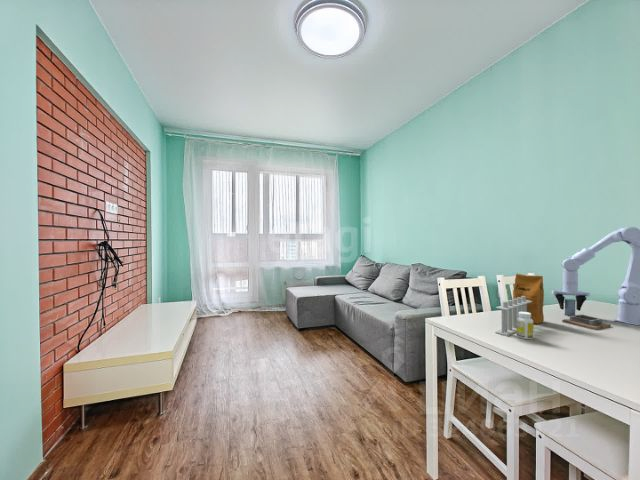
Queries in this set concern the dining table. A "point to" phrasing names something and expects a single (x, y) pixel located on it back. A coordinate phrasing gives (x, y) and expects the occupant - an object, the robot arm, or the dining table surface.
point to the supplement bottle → (525, 325)
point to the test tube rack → (511, 314)
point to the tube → (569, 307)
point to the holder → (586, 322)
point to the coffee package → (531, 294)
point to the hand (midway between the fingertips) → (570, 309)
